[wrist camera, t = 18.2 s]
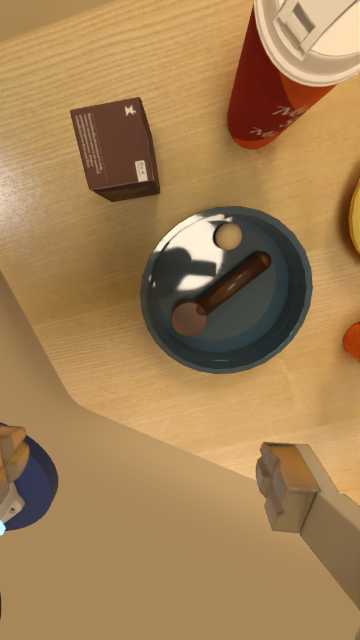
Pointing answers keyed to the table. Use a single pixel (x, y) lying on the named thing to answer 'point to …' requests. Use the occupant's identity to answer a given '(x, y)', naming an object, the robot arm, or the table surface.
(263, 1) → the coffee cup
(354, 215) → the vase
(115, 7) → the table surface
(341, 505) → the robot arm
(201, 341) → the bowl
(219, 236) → the ball
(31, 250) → the table surface
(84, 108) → the box
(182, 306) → the disc-headed brown rod
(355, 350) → the paper cup
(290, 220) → the table surface
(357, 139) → the table surface
